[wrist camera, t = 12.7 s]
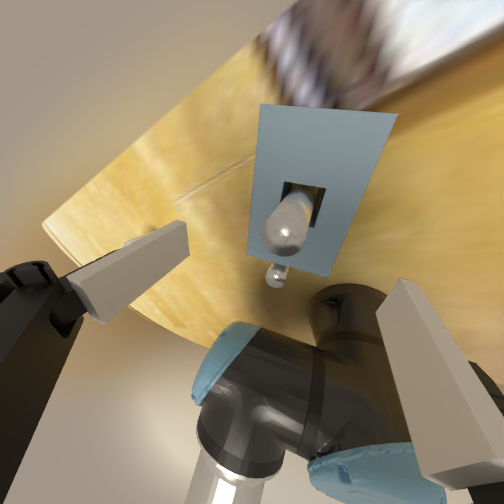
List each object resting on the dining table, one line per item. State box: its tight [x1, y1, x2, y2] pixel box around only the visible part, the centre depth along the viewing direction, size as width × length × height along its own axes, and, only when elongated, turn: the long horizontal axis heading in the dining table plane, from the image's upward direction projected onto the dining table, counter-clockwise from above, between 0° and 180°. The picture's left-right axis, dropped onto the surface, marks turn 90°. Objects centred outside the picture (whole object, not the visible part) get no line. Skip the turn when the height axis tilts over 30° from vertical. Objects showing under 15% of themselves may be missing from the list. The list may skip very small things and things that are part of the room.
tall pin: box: [260, 183, 317, 257], centre depth 20 cm, size 4×4×16 cm
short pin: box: [265, 262, 290, 288], centre depth 32 cm, size 4×4×6 cm
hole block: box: [246, 104, 398, 277], centre depth 24 cm, size 18×12×7 cm, turn 174°
